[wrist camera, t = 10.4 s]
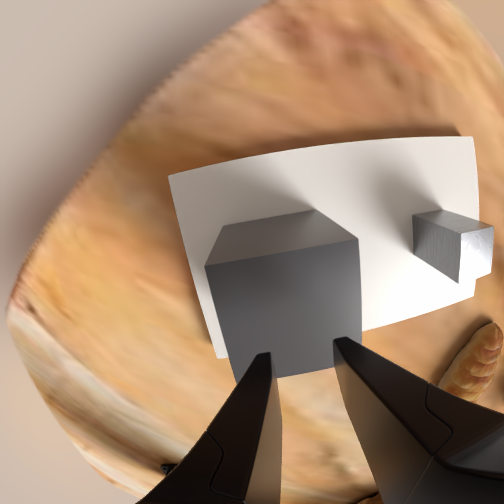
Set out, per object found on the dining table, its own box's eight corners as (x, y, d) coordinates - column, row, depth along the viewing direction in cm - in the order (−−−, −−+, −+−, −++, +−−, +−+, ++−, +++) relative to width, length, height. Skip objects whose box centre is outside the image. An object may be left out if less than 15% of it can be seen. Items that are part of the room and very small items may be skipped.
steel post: (413, 254, 16) (458, 284, 11) (411, 214, 16) (461, 233, 11) (443, 247, 16) (490, 272, 11) (442, 209, 15) (493, 226, 11)
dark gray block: (241, 309, 17) (236, 383, 11) (222, 225, 16) (203, 266, 9) (326, 294, 17) (361, 360, 11) (316, 209, 16) (358, 238, 9)
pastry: (468, 317, 19) (492, 338, 16) (504, 320, 20) (525, 337, 16) (425, 397, 22) (441, 422, 18) (465, 391, 23) (480, 412, 19)
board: (219, 348, 19) (217, 358, 18) (173, 174, 16) (167, 175, 15) (465, 290, 18) (473, 295, 17) (462, 137, 15) (472, 136, 14)
